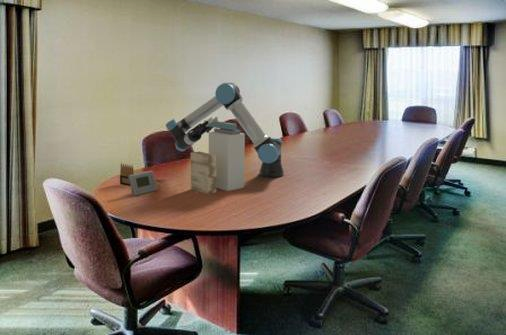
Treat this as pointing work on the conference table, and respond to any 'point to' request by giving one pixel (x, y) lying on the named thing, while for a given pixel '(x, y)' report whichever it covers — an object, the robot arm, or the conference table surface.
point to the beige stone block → (203, 172)
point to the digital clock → (142, 183)
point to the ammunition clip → (125, 174)
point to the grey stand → (228, 157)
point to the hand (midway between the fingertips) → (214, 119)
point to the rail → (223, 125)
